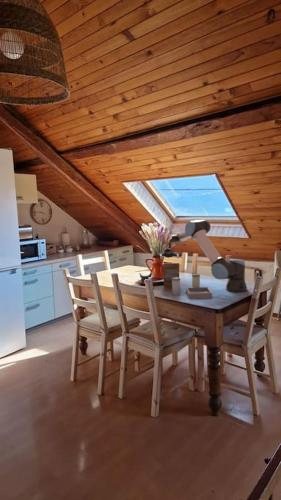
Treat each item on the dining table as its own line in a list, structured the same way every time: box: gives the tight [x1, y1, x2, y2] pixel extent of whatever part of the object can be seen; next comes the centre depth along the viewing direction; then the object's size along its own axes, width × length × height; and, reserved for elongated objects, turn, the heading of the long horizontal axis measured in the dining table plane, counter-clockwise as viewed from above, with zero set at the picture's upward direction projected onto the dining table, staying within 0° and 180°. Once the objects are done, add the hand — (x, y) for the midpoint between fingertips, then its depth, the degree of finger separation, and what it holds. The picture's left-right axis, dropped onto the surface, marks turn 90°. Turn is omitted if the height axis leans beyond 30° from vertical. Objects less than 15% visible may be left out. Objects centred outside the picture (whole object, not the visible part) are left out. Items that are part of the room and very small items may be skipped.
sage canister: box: [191, 273, 201, 287], centre depth 263 cm, size 6×6×12 cm
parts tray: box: [185, 286, 213, 299], centre depth 251 cm, size 16×16×4 cm
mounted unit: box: [162, 262, 180, 292], centre depth 267 cm, size 8×12×20 cm, turn 90°
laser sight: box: [139, 271, 155, 288], centre depth 281 cm, size 10×22×10 cm, turn 12°
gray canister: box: [171, 277, 181, 296], centre depth 253 cm, size 6×6×12 cm
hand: (169, 257), depth 277 cm, fingers open, 13 cm apart
